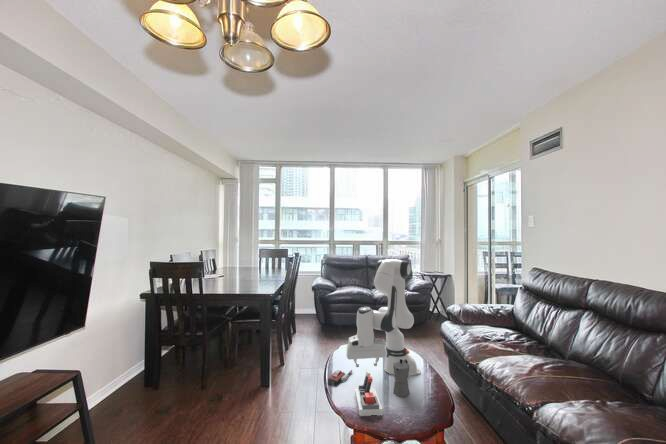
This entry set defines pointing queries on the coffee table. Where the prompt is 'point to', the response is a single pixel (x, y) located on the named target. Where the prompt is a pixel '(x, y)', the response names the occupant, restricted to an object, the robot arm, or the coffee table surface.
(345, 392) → the coffee table surface
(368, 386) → the lever tagged
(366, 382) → the lever plain
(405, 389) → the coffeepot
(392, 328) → the robot arm
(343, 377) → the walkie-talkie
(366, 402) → the lockout cap
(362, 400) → the white compartment tray
